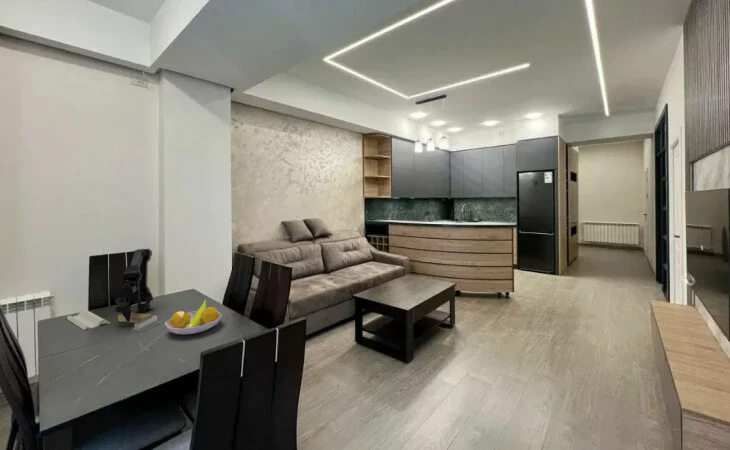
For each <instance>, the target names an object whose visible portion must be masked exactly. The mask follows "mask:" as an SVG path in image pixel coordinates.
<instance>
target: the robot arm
mask: <svg viewBox="0 0 730 450" xmlns="http://www.w3.org/2000/svg"><path fill="white" fill-rule="evenodd" d="M152 256H153V250H151V249H150V248H138V249H135V250H133V257H132V260H131V263H130V265H129V267H127V268H125V271H124V272H123V273H122V280H121V285H123V287H122V288H121V289H120V295H121V296H122V297H117V298H115V304H116V307H115V313H116V312H117V313H120V314H123V315H124V317H125V319H126V320H127V322H126V323H130V322H129V321H130V316H131V313H132V307H134V306H136V305H137V306H136V307H137V310H136V311H135V312H136V313H139V314H145V313H147V312H149V311H151V310H153V308H152V307H151V302H152V301H153V300H154V297H153V294H152V292H151V289H150V287H149V286H148V271H149V270H148V267H149V265H148V264H149V262H150V261H151V259H152ZM117 305H118V306H117Z"/></svg>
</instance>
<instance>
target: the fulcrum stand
mask: <svg viewBox="0 0 730 450" xmlns="http://www.w3.org/2000/svg"><path fill="white" fill-rule="evenodd" d="M163 322H164V321H163V320H158V315H152V314H151V316H150V317H148V318H146V319H144V320H141V321H139V322H137V323H134V327H133V328H131V329H130V330H128V332H130V333H144V332H146V331H148V330H150V329H152V328H154V327H156V326H158V325H160V324H161V323H163Z"/></svg>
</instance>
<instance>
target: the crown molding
mask: <svg viewBox="0 0 730 450" xmlns="http://www.w3.org/2000/svg"><path fill="white" fill-rule="evenodd" d="M67 316H68V317H67ZM67 316H66V317H67V320H68V321H69V322H71V323H72V324H74V325H76V326H77V327H78V328H80V329H82V330H91V329H94V328H97V327H100V326H101V325H106V324H108V325H109V324H111V322H110V321H108V320H107V319H104V318H102V317H100V316H99V315H97V314H95V313H93V312H91V311H89V310H87V309H82V310H80V312H79V313H78V314H77V315H69V314H68V315H67ZM72 316H73V317H72Z"/></svg>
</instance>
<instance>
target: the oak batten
mask: <svg viewBox="0 0 730 450" xmlns="http://www.w3.org/2000/svg"><path fill="white" fill-rule="evenodd" d="M150 316H152V314H150V313H149V314H148V313H143V314H140V313H138V312H136V313H135V312H131V316H130V321H129V322H127V320H126V319H125V317H124V315H123V314H122V313H120V314H118V315H117V317H118V318H117V319H118V322H121V323H124V322H125V323H134V324H135V323H137V322H139V321H141V320H144V319H146V318H148V317H150Z"/></svg>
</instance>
